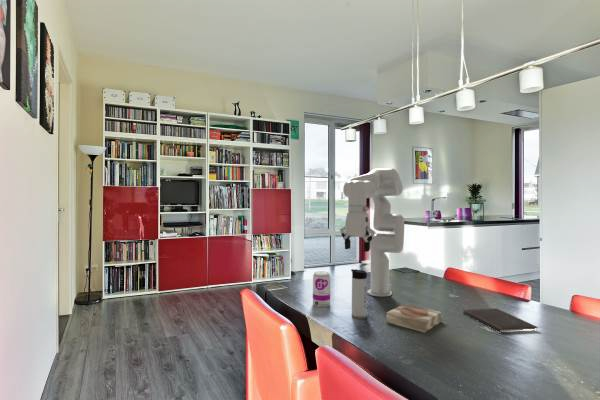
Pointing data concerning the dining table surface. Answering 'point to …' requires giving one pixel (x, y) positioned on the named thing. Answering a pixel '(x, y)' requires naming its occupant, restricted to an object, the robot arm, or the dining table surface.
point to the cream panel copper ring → (414, 317)
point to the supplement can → (321, 289)
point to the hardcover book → (498, 319)
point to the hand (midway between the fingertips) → (356, 250)
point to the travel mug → (359, 294)
